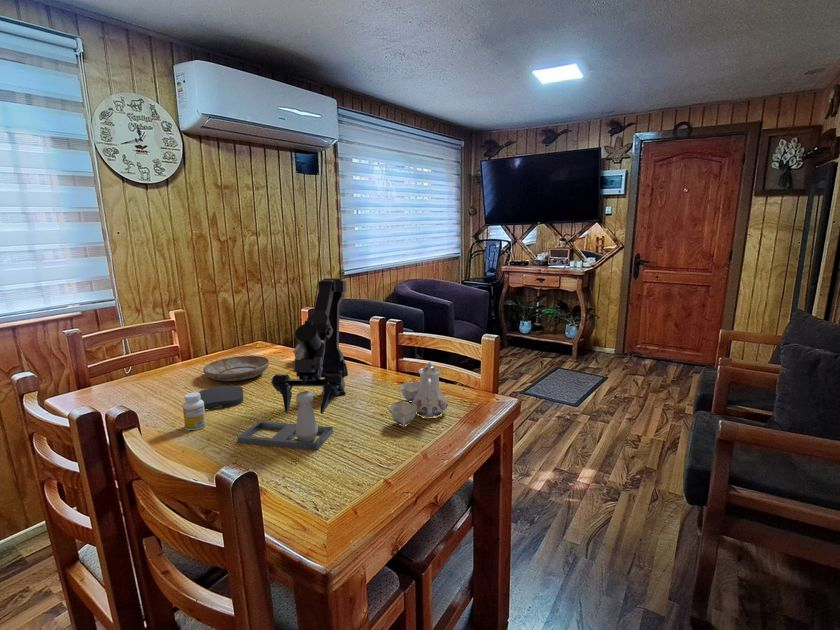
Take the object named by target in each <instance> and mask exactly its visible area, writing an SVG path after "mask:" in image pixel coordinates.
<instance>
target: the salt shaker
mask: <svg viewBox="0 0 840 630" xmlns="http://www.w3.org/2000/svg"><path fill="white" fill-rule="evenodd" d="M295 400H296V403H297V404H298V410H297V417H296V423H295V424H296V437H297V439H298V441H304V442H313V441H314V440H315V439H316V437H317V435H318V434H319V433H318V427H317V426H318V423H317V420H316V419H317V418H316V416H315V413H314V409H313V405H312V402H313V401H314V394H313V393H312V392H311V391H308V390H307V391H306V390H305V391H300V392H298V393H297V394H296V397H295Z"/></svg>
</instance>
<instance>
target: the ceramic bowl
mask: <svg viewBox="0 0 840 630" xmlns="http://www.w3.org/2000/svg"><path fill="white" fill-rule="evenodd" d="M269 365H270V360H269V359H268V358H267V357H265V356H260V355H239V356H232V357H227V358H225V357H224V358H221V359H218V360H214V361H212V362H210V363H207V364H206V365H205V366H203V373H204V375H205V376H206V377H208V378H209V379H212V380H215V381H219V382H238V381H239V382H240V381H245V380H249V379H252V378H255V377H257V376H259V375H261V374H262V373H263V372H265V371H266V370H267V369H268V368H269Z"/></svg>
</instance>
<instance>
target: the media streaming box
mask: <svg viewBox="0 0 840 630" xmlns="http://www.w3.org/2000/svg"><path fill="white" fill-rule="evenodd" d="M243 388H244V387H242V386H238V385H221V386H214V387H209V388H205V389H204V390H202V389H201V391H200V390H199V391H198V392H199V393H200V396H201V398H200V399H201V400H203V402H204V408H205V409H211V410H217V409H216V408H219V409H224V408H225V407H226V408H231V407H235V406H236V407H237V406H238V405H242V404H243V402H244V389H243Z"/></svg>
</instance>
